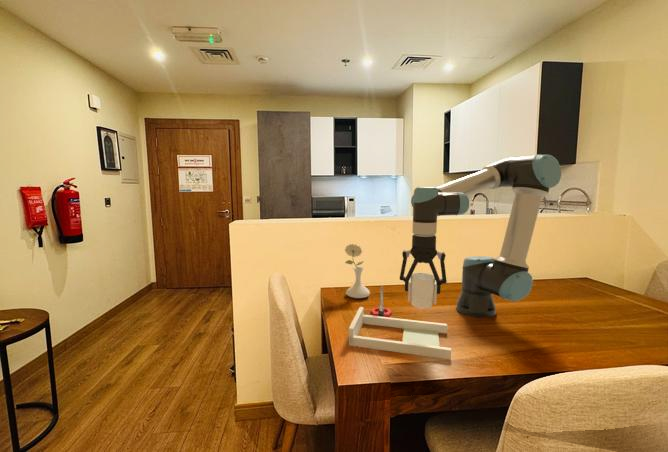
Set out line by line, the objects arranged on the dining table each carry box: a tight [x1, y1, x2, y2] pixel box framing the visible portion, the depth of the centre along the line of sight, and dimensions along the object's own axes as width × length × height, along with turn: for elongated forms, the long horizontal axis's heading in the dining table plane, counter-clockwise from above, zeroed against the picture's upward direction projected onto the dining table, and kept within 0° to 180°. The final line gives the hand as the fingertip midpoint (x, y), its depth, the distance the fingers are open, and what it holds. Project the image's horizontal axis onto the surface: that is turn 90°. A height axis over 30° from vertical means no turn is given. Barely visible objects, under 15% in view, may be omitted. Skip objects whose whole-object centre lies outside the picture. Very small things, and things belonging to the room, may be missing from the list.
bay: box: [348, 306, 452, 361], centre depth 110 cm, size 32×19×6 cm, turn 74°
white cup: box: [410, 272, 436, 310], centre depth 107 cm, size 8×8×10 cm
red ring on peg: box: [370, 285, 392, 318], centre depth 132 cm, size 8×13×9 cm
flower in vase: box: [344, 243, 371, 299], centre depth 151 cm, size 13×11×25 cm
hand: (421, 301), depth 107 cm, fingers closed on white cup, 8 cm apart
